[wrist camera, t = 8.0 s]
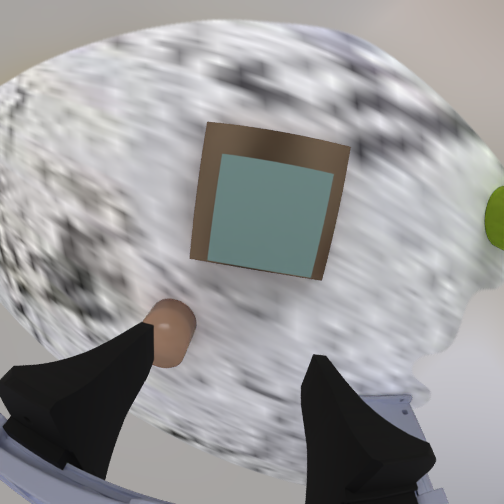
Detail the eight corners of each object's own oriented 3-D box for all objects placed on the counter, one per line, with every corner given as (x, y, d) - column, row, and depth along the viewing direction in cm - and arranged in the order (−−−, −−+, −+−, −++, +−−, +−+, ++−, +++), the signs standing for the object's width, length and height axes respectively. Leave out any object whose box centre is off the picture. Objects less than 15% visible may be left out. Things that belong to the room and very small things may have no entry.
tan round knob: (198, 304, 22) (185, 331, 18) (194, 343, 23) (183, 373, 20) (151, 294, 22) (131, 318, 18) (151, 333, 23) (135, 360, 20)
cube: (315, 170, 17) (334, 174, 12) (299, 247, 18) (310, 277, 14) (234, 156, 17) (222, 153, 12) (222, 234, 18) (207, 260, 13)
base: (342, 148, 18) (350, 147, 16) (317, 270, 21) (321, 280, 19) (213, 125, 18) (207, 121, 16) (196, 249, 21) (189, 258, 19)
